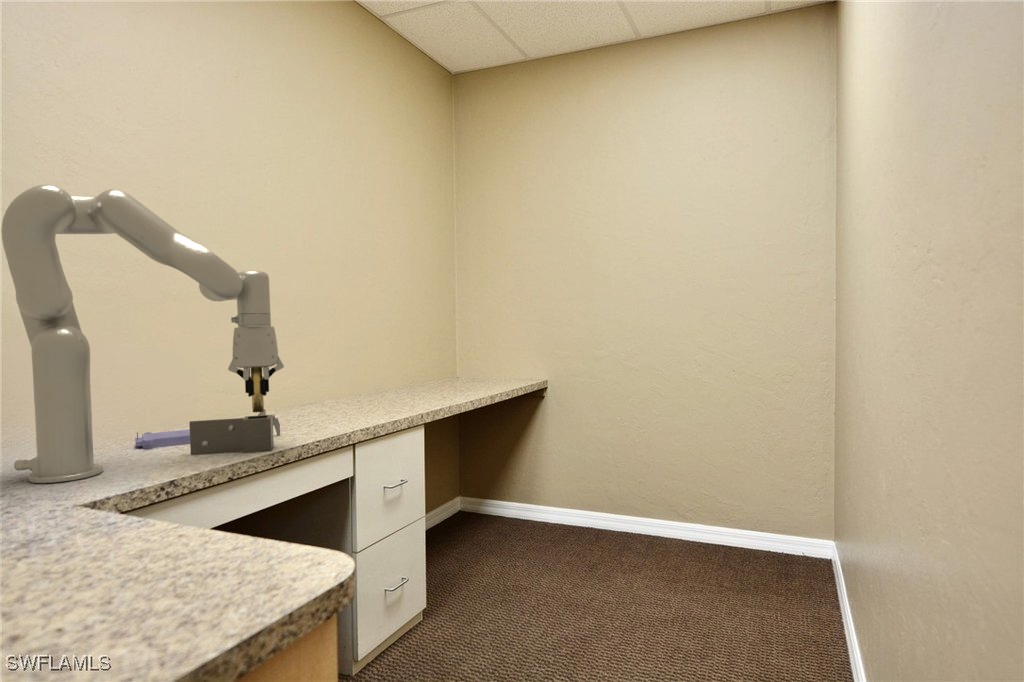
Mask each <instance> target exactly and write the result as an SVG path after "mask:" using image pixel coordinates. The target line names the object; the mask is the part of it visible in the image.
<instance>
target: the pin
mask: <svg viewBox="0 0 1024 682" xmlns="http://www.w3.org/2000/svg"><path fill="white" fill-rule="evenodd" d="M250 377H251V382H252V396H251V403H252V404H251V405H252V407H251V408H252V413H260V412H263V411H264V409H265V403H264V396H263V395H262V380H263V377H264V375H263V367H252V368H250Z"/></svg>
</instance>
